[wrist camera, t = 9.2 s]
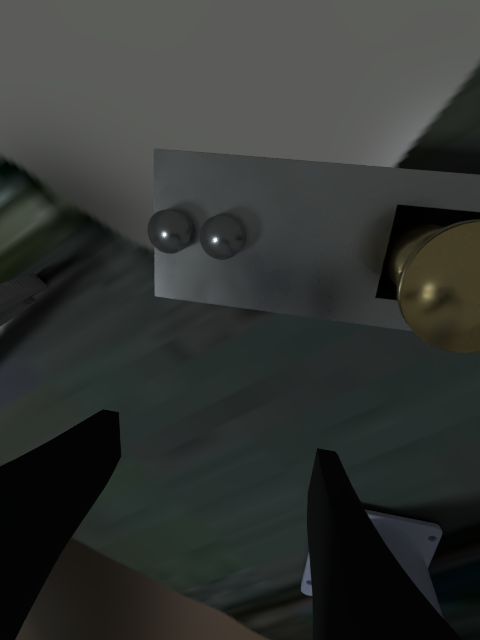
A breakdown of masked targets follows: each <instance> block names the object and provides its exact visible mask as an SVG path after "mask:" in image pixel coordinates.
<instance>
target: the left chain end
mask: <svg viewBox="0 0 480 640" xmlns="http://www.w3.org/2000/svg"><path fill="white" fill-rule="evenodd" d="M397 204H398V205H409V206H420V207H430V208H441V209H452V210H463V211H473V212H480V175H476V174H464V173H451V172H439V171H427V170H414V169H402V168H389V167H376V166H365V165H352V164H340V163H328V162H327V163H326V162H315V161H301V160H290V159H278V158H266V157H253V156H240V155H229V154H216V153H204V152H191V151H179V150H166V149H154V215H153V216H152V217H151V219H150V221H149V224H148V236H149V239H150V241H151V243H152V244H153V245H154V246H155V296H158V297H165V298H172V299H180V300H187V301H195V302H202V303H209V304H217V305H224V306H231V307H239V308H246V309H253V310H261V311H268V312H275V313H283V314H290V315H298V316H305V317H312V318H320V319H327V320H334V321H342V322H349V323H356V324H364V325H371V326H378V327H386V328H393V329H401V330H408V331H412V329H411V328H410V327H409V325H408V324H407V323H406V321H405V320H404V318H403V316H402V315H401V312H400V310H399V307H398V302H397V294H393V293H385V292H377V288H378V284H379V279H380V275H381V271H382V267H383V263H384V258H385V254H386V250H387V246H388V242H389V237H390V233H391V229H392V225H393V221H394V216H395V212H396V208H397Z"/></svg>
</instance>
